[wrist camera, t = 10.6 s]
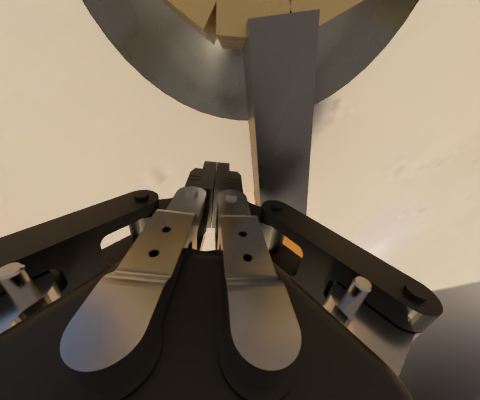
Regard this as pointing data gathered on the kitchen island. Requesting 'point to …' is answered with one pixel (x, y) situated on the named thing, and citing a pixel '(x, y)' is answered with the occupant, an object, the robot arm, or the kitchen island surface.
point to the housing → (237, 51)
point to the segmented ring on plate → (272, 82)
